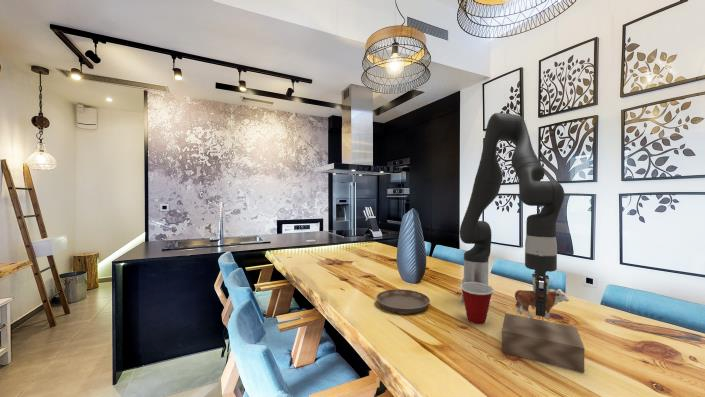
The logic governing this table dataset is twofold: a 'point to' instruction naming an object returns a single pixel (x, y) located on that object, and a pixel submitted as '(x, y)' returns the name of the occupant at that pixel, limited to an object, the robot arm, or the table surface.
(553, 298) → the bull figurine
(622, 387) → the table surface
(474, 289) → the plastic cup
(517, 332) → the walnut block
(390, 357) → the table surface
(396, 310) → the plant saucer
